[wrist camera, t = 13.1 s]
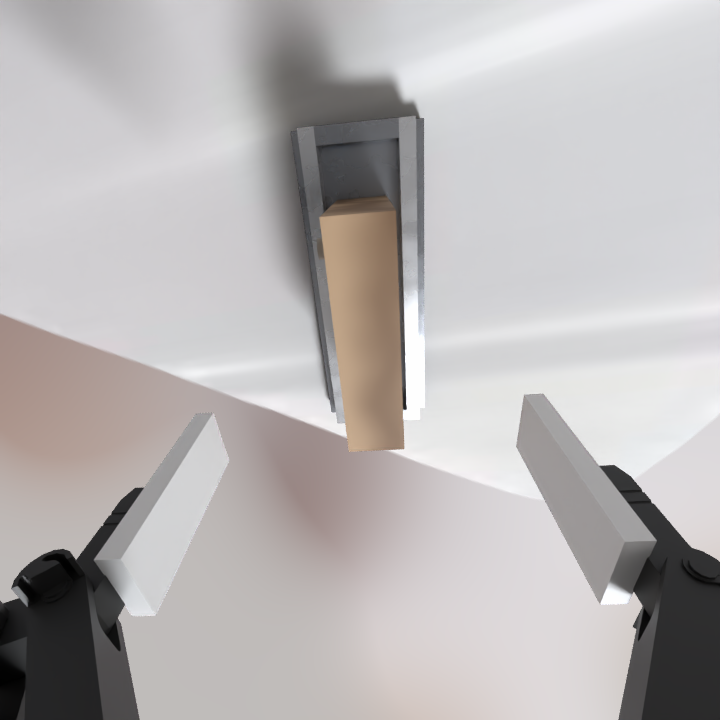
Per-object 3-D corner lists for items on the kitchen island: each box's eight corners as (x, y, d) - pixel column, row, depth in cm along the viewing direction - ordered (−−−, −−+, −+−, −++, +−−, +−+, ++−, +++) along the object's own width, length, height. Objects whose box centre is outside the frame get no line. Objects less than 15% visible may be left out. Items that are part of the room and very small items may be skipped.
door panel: (345, 371, 37) (335, 452, 26) (325, 201, 30) (300, 218, 19) (394, 368, 37) (404, 449, 26) (386, 195, 29) (396, 210, 19)
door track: (332, 404, 41) (329, 423, 38) (294, 133, 29) (285, 128, 26) (422, 399, 40) (426, 418, 37) (421, 120, 28) (427, 114, 25)
